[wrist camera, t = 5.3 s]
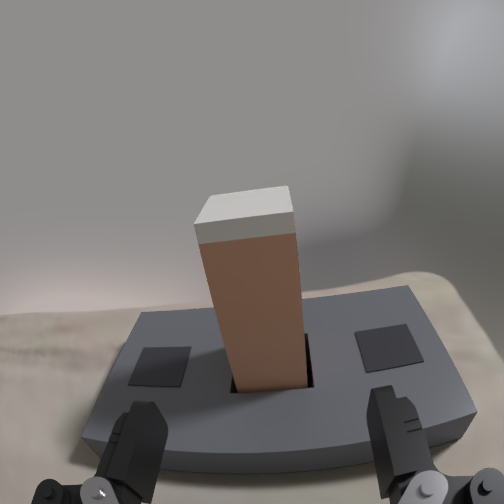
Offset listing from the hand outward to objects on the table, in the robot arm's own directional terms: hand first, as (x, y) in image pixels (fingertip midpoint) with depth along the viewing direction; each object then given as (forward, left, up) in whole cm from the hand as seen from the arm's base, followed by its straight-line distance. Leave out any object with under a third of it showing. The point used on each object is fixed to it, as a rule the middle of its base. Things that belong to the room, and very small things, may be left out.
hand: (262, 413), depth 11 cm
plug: (0, +8, -9) cm, 12 cm away
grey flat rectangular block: (0, +8, -9) cm, 12 cm away
